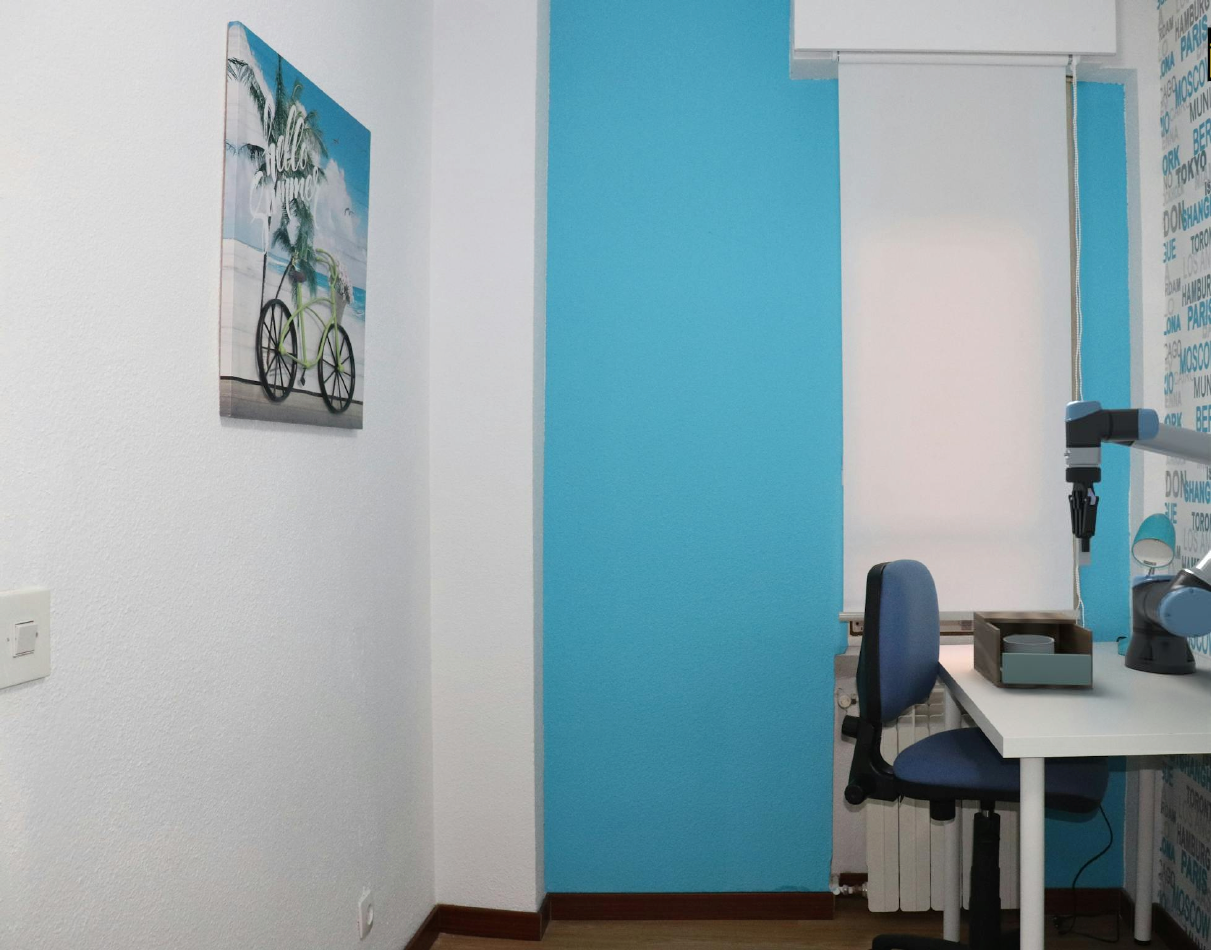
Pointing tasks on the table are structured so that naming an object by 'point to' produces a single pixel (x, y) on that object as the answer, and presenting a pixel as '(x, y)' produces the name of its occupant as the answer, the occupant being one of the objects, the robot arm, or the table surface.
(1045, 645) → the teacup
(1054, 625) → the cubby
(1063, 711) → the table surface
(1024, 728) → the table surface
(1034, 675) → the drawer
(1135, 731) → the table surface
